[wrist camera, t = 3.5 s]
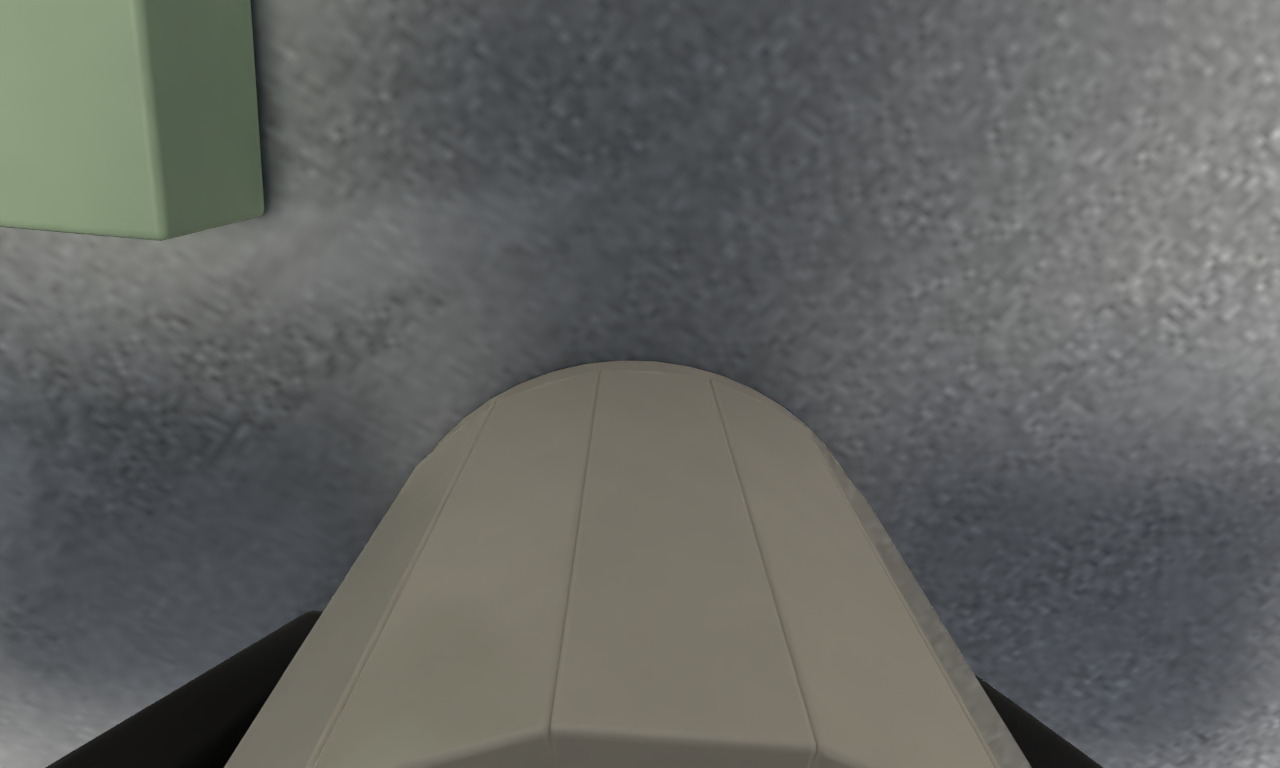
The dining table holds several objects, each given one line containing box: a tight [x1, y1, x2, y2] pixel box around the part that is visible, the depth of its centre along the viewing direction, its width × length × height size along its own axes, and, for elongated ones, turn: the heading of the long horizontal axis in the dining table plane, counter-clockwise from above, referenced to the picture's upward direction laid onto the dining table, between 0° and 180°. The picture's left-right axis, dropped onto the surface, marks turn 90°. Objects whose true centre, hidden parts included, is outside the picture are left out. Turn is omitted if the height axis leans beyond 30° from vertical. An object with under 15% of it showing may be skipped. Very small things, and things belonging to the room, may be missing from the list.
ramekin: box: [223, 361, 1032, 768], centre depth 7 cm, size 6×6×6 cm
